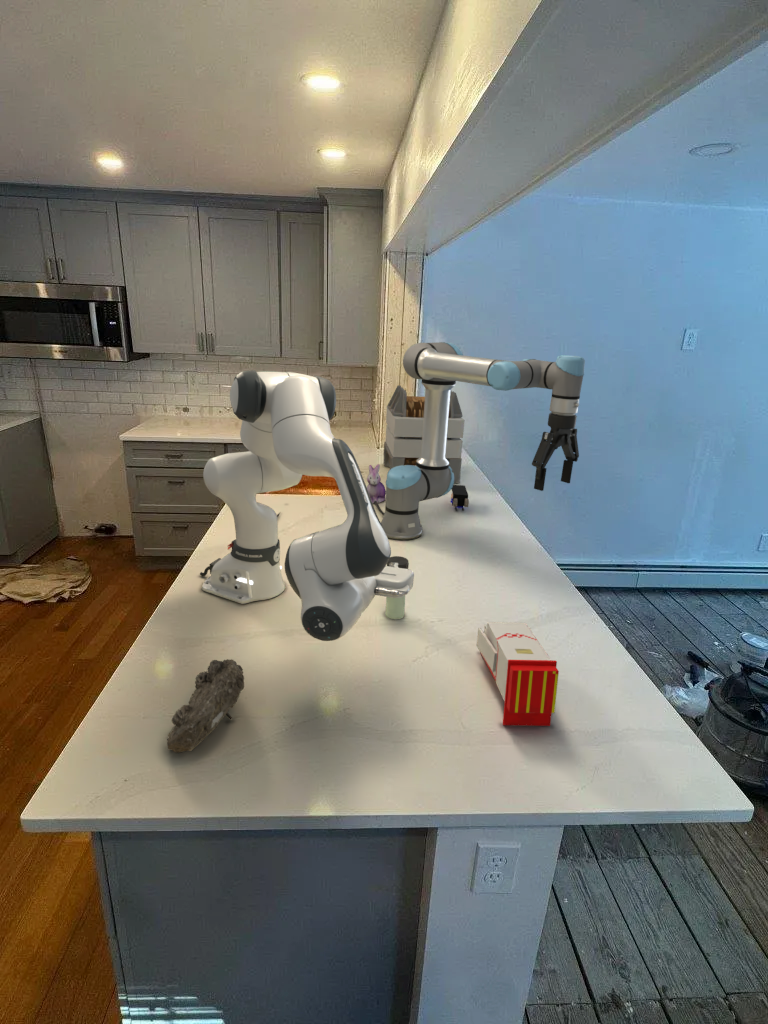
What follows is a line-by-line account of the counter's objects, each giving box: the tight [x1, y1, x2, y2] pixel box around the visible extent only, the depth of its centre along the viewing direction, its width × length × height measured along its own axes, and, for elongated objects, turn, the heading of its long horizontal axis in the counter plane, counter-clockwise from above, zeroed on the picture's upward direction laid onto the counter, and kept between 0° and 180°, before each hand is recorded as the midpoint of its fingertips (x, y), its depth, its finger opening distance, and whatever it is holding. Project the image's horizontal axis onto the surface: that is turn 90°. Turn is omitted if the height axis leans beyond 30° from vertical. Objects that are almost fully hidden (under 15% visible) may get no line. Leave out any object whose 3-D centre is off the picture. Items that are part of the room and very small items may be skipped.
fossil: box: [166, 658, 245, 754], centre depth 106 cm, size 22×10×15 cm
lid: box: [386, 555, 409, 569], centre depth 142 cm, size 6×6×2 cm
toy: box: [476, 621, 560, 727], centre depth 120 cm, size 12×13×30 cm
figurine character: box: [449, 484, 470, 512], centre depth 229 cm, size 7×8×15 cm
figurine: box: [366, 463, 386, 504], centre depth 231 cm, size 9×10×15 cm
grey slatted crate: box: [383, 384, 465, 484], centre depth 268 cm, size 34×33×41 cm
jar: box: [385, 595, 406, 620], centre depth 145 cm, size 5×5×15 cm
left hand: (373, 562), depth 120 cm, fingers open, 8 cm apart
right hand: (552, 485), depth 166 cm, fingers open, 13 cm apart
